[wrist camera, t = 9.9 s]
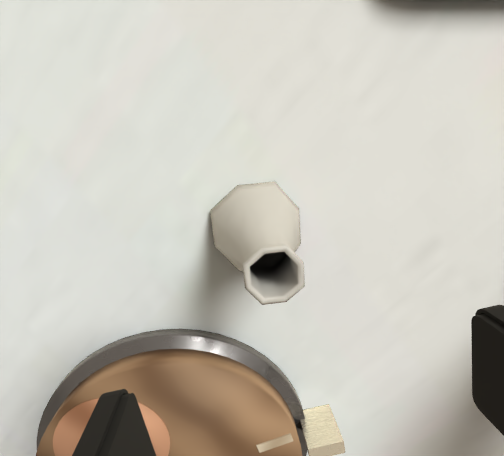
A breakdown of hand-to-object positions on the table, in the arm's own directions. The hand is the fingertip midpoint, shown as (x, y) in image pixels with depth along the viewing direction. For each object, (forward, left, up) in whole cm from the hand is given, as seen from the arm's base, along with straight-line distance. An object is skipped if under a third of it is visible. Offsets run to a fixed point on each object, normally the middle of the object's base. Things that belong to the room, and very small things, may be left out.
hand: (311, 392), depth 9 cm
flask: (0, 0, -18) cm, 18 cm away
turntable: (+11, +19, -17) cm, 27 cm away
